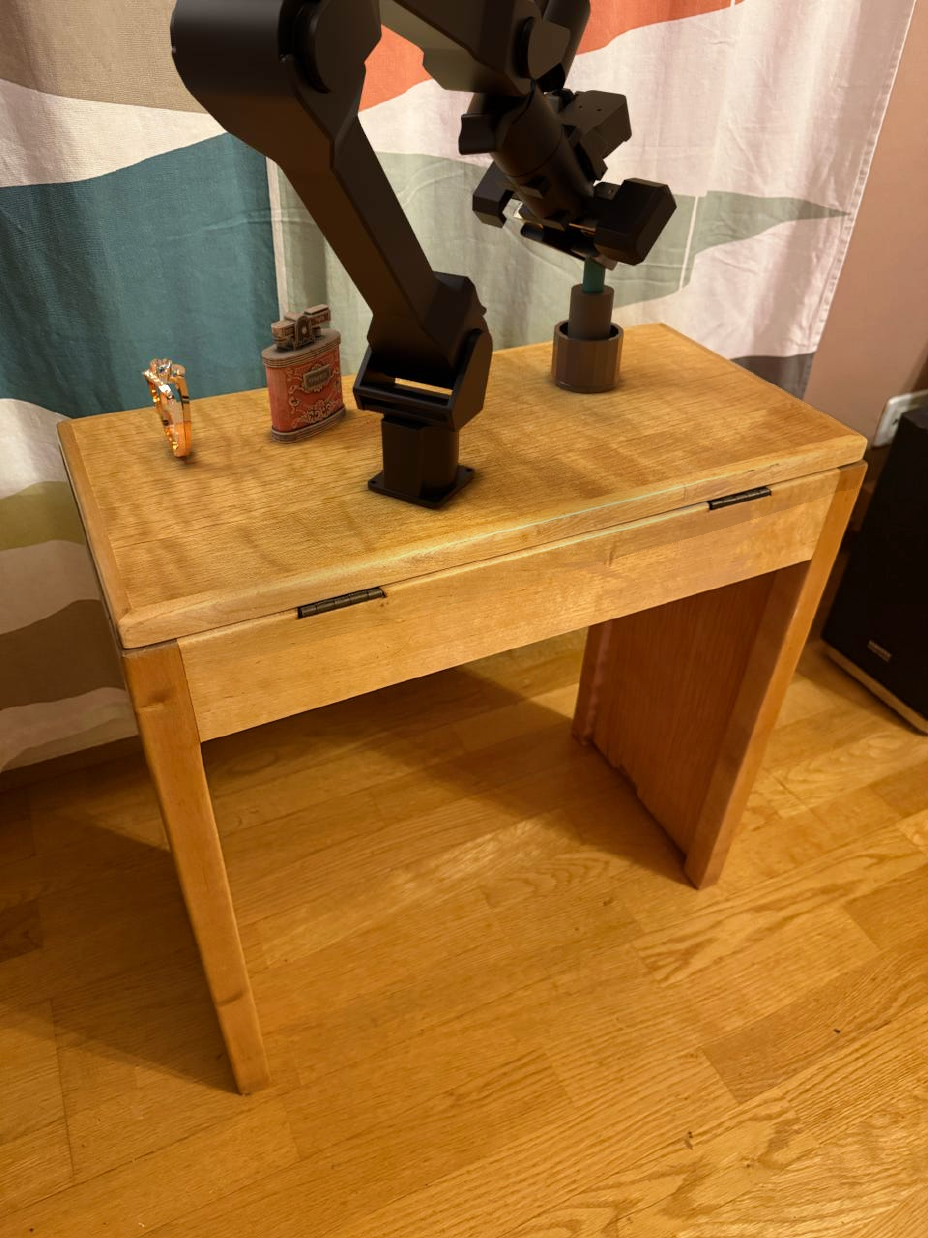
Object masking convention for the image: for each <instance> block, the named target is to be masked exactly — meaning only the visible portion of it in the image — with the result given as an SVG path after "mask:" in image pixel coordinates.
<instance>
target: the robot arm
mask: <svg viewBox="0 0 928 1238" xmlns="http://www.w3.org/2000/svg"><path fill="white" fill-rule="evenodd" d="M591 13H592V5H591V1H590V0H176V2H175V5H174V8H173V10H172V12H171V16H170V23H169V37H170V47H171V52H170V55H171V58H172V61H173V64H174V67H175V70H176V72H177V74H178V76H179V78H180V79H181V82H182V84H183V85H184V88H185V89H186V90H187V92H189V94H190V95H191V96H192V98H194V99H195V100H196V102H198V103H199V105H200V106H201V107H202V108H203V109H204V110H205V111H206V112H207V113H208V114H209V115H210V116H211V117H212V118H213V120H214V121H215V122H216V123H218V124H219V126H220V127H221V128H222V129H223V130H224V131H226V132H227V133H229V134H230V135H231V136H233V137H235V138H236V139H238V140H239V141H241V142H243V143H244V144H245V145H248V146H249V147H250V148H252V149H254V150H255V151H257V152H258V153H260V154H262V155H263V156H265V157H266V158H267V159H269V160H271V161H272V162H274V163H275V164H276V165H277V166H278V167H279V168H280V169H281V171H282V172H283V174H284V175H285V177H286V178H287V180H288V182H289V183H290V185H291V186H292V189H293V190H294V191H295V193H296V194H297V196H298V197H299V199H300V201H301V202H302V204H303V205H304V207H305V209H306V210H307V212H308V213H309V215H310V217H311V218H312V220H313V221H314V223H315V224H316V226H317V228H318V229H319V231H320V232H321V234H322V235H323V237H324V239H325V240H326V242H327V243H328V245H329V246H330V248H331V250H332V251H333V252H334V254H335V256H336V257H337V259H338V261H339V262H340V264H341V265H342V267H343V269H344V271H345V272H346V273H347V275H348V277H349V278H350V280H351V281H352V283H353V284H354V286H355V287H356V289H357V291H358V292H359V294H360V295H361V297H362V299H363V300H364V302H365V303H366V306H368V308H369V309H370V311H371V314H372V317H371V319H370V323H369V326H368V330H367V333H366V341H367V343H368V345H367V347H366V350H365V353H364V355H363V358H362V360H361V364H360V367H359V369H358V372H357V374H356V377H355V380H354V382H353V385H352V389H351V391H352V395H353V398H354V401H355V405H356V407H357V410H359V411H363V412H366V411H368V412H372V413H377V414H380V415H382V418H380V430H381V431H380V433H381V449H382V450H381V453H382V470H381V471H379V472H378V473H377V474H376V475H374V476H373V477H371V478H370V479H368V480H367V483H366V484H367V489H368V490H370V491H374V492H377V493H381V494H384V495H387V496H390V497H394V498H397V499H401V500H404V501H408V502H411V503H415V504H418V505H422V506H423V507H424V506H425V507H428V508H430V509H431V508H432V509H437V508H440V507H441V506H442V505H444V503H446V501H448V500H449V499H450V498H451V497H452V496H454V495H455V494H456V493H457V492H458V491H459V490H460V489H462V488H463V487H464V486H465V485H466V484H467V483H469V481H471V480H472V479H473V478H474V477H475V476H476V469H475V468H473V467H471V466H466V465H463V464H460V463H459V460H460V430H461V429H462V428H464V427H465V426H466V425H467V424H468V423H470V422H471V421H472V420H473V419H474V418H475V417H477V416H478V415H479V414H480V413H481V412H482V411H483V410H484V405H485V400H486V395H487V388H488V382H489V377H490V371H491V370H490V369H491V364H492V360H493V353H494V340H493V337H492V334H491V332H490V329H489V326H488V322H487V320H486V319H485V315H486V314H487V311H488V308H487V307H485V305H483V304H482V303H481V301H480V298H479V295H478V291H477V288H476V287H477V286H476V285H475V284H474V282H473V281H472V279H471V278H470V277H469V276H468V275H467V276H466V275H462V274H456V273H455V274H454V273H449V272H445V271H437V270H433V267H432V266H431V264H430V261H429V260H428V258H427V256H426V253H425V251H424V249H423V247H422V245H421V243H420V242H419V239H418V237H417V235H416V233H415V232H414V229H413V227H412V225H411V223H410V221H409V219H408V217H407V215H406V213H405V211H404V209H403V207H402V204H401V203H400V201H399V199H398V197H397V195H396V193H395V191H394V189H393V187H392V184H391V183H390V181H389V178H388V177H387V174H386V172H385V170H384V168H383V166H382V164H381V162H380V160H379V158H378V156H377V153H376V152H375V150H374V148H373V146H372V144H371V142H370V140H369V138H368V135H367V133H366V132H365V130H364V127H363V126H362V123H361V120H360V117H359V110H360V106H361V100H362V96H363V91H364V85H365V81H366V75H367V67H366V66H367V65H366V63H365V62H366V61H367V60H368V58H370V56H371V54H372V53H373V51H374V50H375V49H376V47H377V46H378V44H379V43H380V42H381V40H382V37H383V32H382V26H383V27H385V28H387V29H388V30H389V31H391V32H393V33H395V34H396V35H398V36H399V37H400V38H403V39H404V40H406V41H408V42H409V43H411V44H413V45H414V46H416V47H417V48H418V49H419V50H420V51H421V52H422V53H423V55H422V63H421V65H422V67H423V69H424V70H425V71H426V72H427V74H428V75H429V76H430V77H431V78H432V79H433V80H434V81H435V82H436V83H437V84H438V86H440V88H442V89H443V90H444V91H451V92H461V93H472V96H471V99H470V102H469V105H468V107H467V110H466V112H465V113H462V114H461V116H460V132H459V135H458V139H457V146H458V147H457V148H458V150H457V151H458V153H459V155H460V156H475V155H485V154H489V156H490V157H491V159H492V162H491V163H490V165H489V167H488V168H487V170H486V171H485V173H484V175H483V176H482V178H481V180H480V181H479V183H478V185H477V187H476V188H475V189H474V191H473V193H472V197H471V198H472V199H471V201H472V202H471V211H472V212H473V214H474V215H475V216H476V217H477V218H478V220H479V221H480V222H481V224H484V225H488V226H490V227H494V228H498V229H501V230H502V229H503V227H504V226H505V224H507V223H506V222H507V221H508V218H507V217H506V216H505V214H504V211H505V209H506V208H507V206H508V204H509V203H510V201H511V200H513V201H517V202H519V203H518V205H517V206H516V207H515V209H514V211H513V212H512V216H513V219H516V220H519V221H521V223H522V225H521V228H520V229H519V230H520V231H519V234H520V236H522V238H524V239H527V240H531V241H533V242H535V243H538V244H540V245H543V246H545V247H547V248H549V249H553V250H554V251H557V252H559V253H562V254H564V255H566V256H569V257H571V258H573V259H576V260H578V261H580V262H582V263H584V261H585V258H587V259H589V260H590V261H592V262H594V263H596V264H598V265H600V266H602V267H604V268H606V270H608V271H611V272H612V271H614V270H615V269H616V267H617V265H618V263H621V264H625V265H627V266H628V265H629V266H632V267H636V266H638V265H640V264H643V263H644V262H645V260H646V258H647V257H648V255H649V254H650V252H651V250H652V249H653V247H654V245H655V244H656V242H657V241H658V239H659V237H660V236H661V234H662V233H663V231H664V230H665V228H666V226H667V224H668V223H669V221H670V219H672V216H673V214H675V211H676V210H677V208H678V205H677V201H676V198H675V196H674V195H673V193H672V190H671V188H670V186H669V185H668V183H662V182H659V181H658V182H657V181H654V180H653V181H652V180H648V179H644V178H639V177H630V178H625V179H623V180H622V182H621V184H618V183H613V182H609V181H603V178H604V176H605V175H606V173H607V172H608V170H609V166H608V165H607V163H606V161H605V159H606V158H608V157H609V156H610V155H611V154H612V153H613V152H615V150H616V149H618V148H619V147H620V146H621V145H622V144H624V143H627V142H628V141H629V140H630V139H631V138H632V136H633V132H632V125H631V118H630V117H631V116H630V111H629V106H628V105H629V104H628V99H627V96H626V94H622V93H617V92H610V91H604V90H597V89H590V90H586V91H581V90H576V91H575V92H573V90H572V89H571V88H567V87H565V85H566V82H567V80H568V77H569V74H570V72H571V69H572V66H573V63H574V60H575V58H576V55H577V52H578V50H579V48H580V44H581V41H582V39H583V37H584V34H585V31H586V29H587V25H588V23H589V20H590V17H591ZM596 182H597V183H596ZM397 379H398V380H403V381H407V382H412V383H417V384H422V385H425V386H426V385H427V386H431V387H436V388H439V389H440V388H441V389H443V390H444V389H445V390H450V391H451V393H450V394H449V393H444V392H440V391H436V390H430V389H425V388H420V387H417V386H412V385H406V384H403V383H399V382H396V380H397Z"/></svg>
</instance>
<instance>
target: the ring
mask: <svg viewBox="0 0 928 1238" xmlns="http://www.w3.org/2000/svg"><path fill="white" fill-rule="evenodd" d="M149 365H150V366H149V367H150V368H147V369H146V370H144V371H142V372H141V374H142V375H143V377H144V379H145V383H146V386H147V387H148V390H149V393H150V395H151V398H152V401H153V404H154V407H155V409H156V411H157V414H158V418H159V419H160V421H161V422H160V423H161V425H162V427H163V430H164V433H165V434H166V437H167V439H168V443H169V445H170V447H171V449H172V452H173V456H174V457H177V458H179V457H185V456H189V455H190V453H191V448H192V413H191V411H192V410H191V403H190V396H189V391H188V386H187V382H186V380H185V374H186V369H185V367H184V366H183V365H181V364H176V363H175V364H174V363H173V361H172V360H171V359H169V360H168V358H163V359H159V358H154V359H152V360H151V361H149ZM174 373H175V374H176V376H175V374H174ZM167 384H171V385H172V384H174V387H175V389H176V391H177V393H178V397H179V400H180V405H181V412H180V408H179V405H178V403H177V400H176V398H175V395H174V393H173V392H172V390H171V389H170V387H169V386H168V385H167ZM157 390H158V392H157ZM171 413H172V415H171ZM181 413H182V414H181ZM172 416H173V418H172ZM173 419H174V421H173ZM174 423H175V424H174Z"/></svg>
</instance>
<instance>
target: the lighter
mask: <svg viewBox="0 0 928 1238" xmlns="http://www.w3.org/2000/svg"><path fill="white" fill-rule="evenodd" d="M331 311H332V309H331V307H329V306H328V305H327V304H323V303H322V304H321V303H320V304H318V305H315V306H313V307H310V308H307V309H305V310H304V309H303V312H301V313H298V312H295V311H292V310H290V311H287V312H286V313H284V315H283V319H281V320H279V321H277V322H274V323H272V324H271V325H270V327H271V336H272V338H274V343H273V344H272V345H270V346H268V347H267V348H265V349H263V350H262V351H261V353H260V354H261V361H262V362H261V363H262V364H263V365H264V366H265V367H264V368H265V375H266V383H267V384H266V385H267V391H268V399H269V409H270V415H271V416H270V417H271V425H270V434H271V439H272V440H273V441H275V442H277V443H282V444H291V443H296V442H299V441H301V440H304V439H307V438H310V437H312V436H314V435H317V434H319V433H321V432H324V431H326V430H328V429H329V428H331V427H333V426H335V425H336V424H339V422H340V421H342V420H343V419H345V418H346V416H347V409H346V408H347V407H346V404H345V402H344V396H343V395H344V393H343V381H342V367H341V366H342V365H341V352H340V345H341V344H342V338H341V337H342V335H341V332H340V331H339V330H337V329H335V328H334V329H333V328H321V326H322V325H324V324H327V323H330V322H331V321H332V312H331Z"/></svg>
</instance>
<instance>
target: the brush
mask: <svg viewBox="0 0 928 1238" xmlns="http://www.w3.org/2000/svg"><path fill="white" fill-rule="evenodd" d="M583 263H584V265H583V272H582V273H583V274H582V283H577V284H574V285H573V286H571V288H570V297H569V298H570V299H569V309H568V310H569V311H568V319H569V322H568V334H567V335H568V336H569V337H571V338H575V339H580V340H593V341H596V340H606V339H609V336H610V327H611V322H612V317H613V308H614V298H615V289H614V288H613V286H610V285H607V284H605V283H606V281H605V280H606V272H607V271H606V270H607V269H606V268H604V267H602V266H600V265H598V264H596V263H594V262H592V261H590V260H589V259H587V258H585V261H584V262H583Z"/></svg>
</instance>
